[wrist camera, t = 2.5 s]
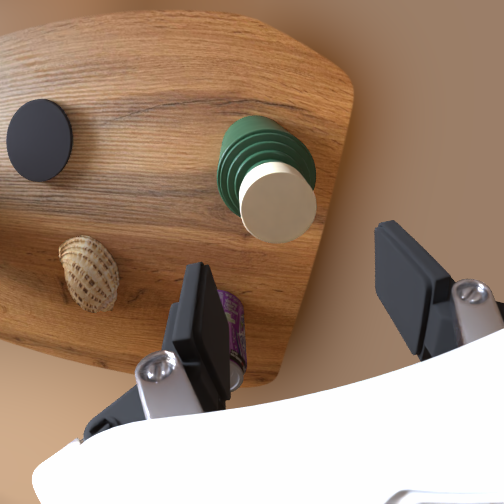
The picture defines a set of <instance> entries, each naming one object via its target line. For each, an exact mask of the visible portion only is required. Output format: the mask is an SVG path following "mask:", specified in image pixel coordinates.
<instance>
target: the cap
mask: <svg viewBox="0 0 504 504" xmlns="http://www.w3.org/2000/svg"><path fill="white" fill-rule="evenodd" d="M239 199H240V213H241V218H242V221H243V223H244V225H245V227H246V228H247V230H248V231H249V232H250V233H251V234H252V235H253V236H255V237H256V238H258V239H260V240H262V241H265V242H268V243H286V242H289V241H292V240H294V239H296V238H298V237H300V236H301V235H302V234H304V233H305V232H306V231H307V230H308V228H309V227H310V226H311V224H312V222H313V220H314V218H315V214H316V208H317V204H316V198H315V195H314V192H313V190H312V188H311V187H310V186H309V184H308V183H307V182H306V180H305V179H304V178H303V176H302V175H301V174H300V173H299V172H298V171H297V170H296V169H295V168H294V167H292V166H290V165H288V164H285V163H281V162H268V163H264V164H261V165H259V166H257V167H255V168H254V169H252V170H251V171H250V172H249V173H248V174H247V175H246V177H245V178H244V180H243V182H242V184H241V187H240V192H239Z"/></svg>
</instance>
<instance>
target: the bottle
mask: <svg viewBox="0 0 504 504" xmlns="http://www.w3.org/2000/svg"><path fill="white" fill-rule="evenodd" d="M268 162H281V163H285V164H288V165H290V166H292V167H294V168H295V169H296V170H297V171H298V172H299V173H300V174H301V175H302V176H303V178H304V179H305V180H306V182H307V183H308V184H309V186H310V187H311V188H312V190H314V187H315V183H316V168H315V163H314V160H313V158H312V156H311V154H310V152H309V150H308V149H307V148H306V146H305V145H304V144H303V143H302V142H301V141H300V140H298V139H297V138H296V137H295V136H293V135H292V134H291V133H289V132H288V131H287V130H285V129H284V128H283V127H281V126H280V125H279V124H277V123H276V122H275V121H273V120H271V119H269V118H267V117H263V116H248V117H244V118H242V119H240V120H238V121H236V122H235V123H234V124H232V125H231V126H230V127H229V129H228V130H227V132H226V133H225V135H224V138H223V142H222V147H221V152H220V158H219V164H218V170H217V185H218V190H219V193H220V195H221V197H222V199H223V201H224V203H225V204H226V206H227V207H228V208H229V209H230V210H231V211H232V212H233V213H235V214H236V215H237V216H239V217H241V213H240V199H239V192H240V187H241V184H242V182H243V180H244V178H245V177H246V175H247V174H248V173H249V172H250V171H251V170H252V169H254V168H255V167H257V166H259V165H261V164H264V163H268Z"/></svg>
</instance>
